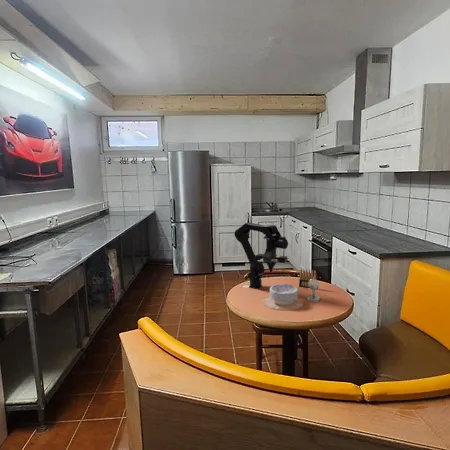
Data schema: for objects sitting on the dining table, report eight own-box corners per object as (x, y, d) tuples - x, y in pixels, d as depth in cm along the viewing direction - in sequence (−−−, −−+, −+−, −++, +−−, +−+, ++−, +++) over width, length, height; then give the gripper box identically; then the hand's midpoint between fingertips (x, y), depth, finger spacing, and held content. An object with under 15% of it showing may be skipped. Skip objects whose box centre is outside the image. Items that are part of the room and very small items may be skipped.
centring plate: (256, 305, 178) (256, 305, 178) (270, 293, 197) (271, 292, 197) (296, 313, 168) (296, 312, 168) (307, 299, 187) (307, 298, 187)
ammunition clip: (298, 287, 208) (299, 268, 206) (299, 286, 209) (300, 267, 208) (315, 289, 202) (316, 270, 201) (316, 288, 204) (317, 269, 202)
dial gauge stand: (306, 300, 185) (307, 279, 183) (309, 296, 190) (310, 276, 189) (317, 301, 182) (318, 280, 181) (320, 298, 188) (320, 277, 186)
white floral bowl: (276, 308, 173) (276, 294, 172) (265, 298, 188) (265, 285, 187) (302, 305, 177) (303, 291, 176) (290, 296, 192) (290, 282, 190)
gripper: (251, 247, 194) (251, 273, 196) (281, 250, 185) (281, 277, 187) (258, 244, 204) (258, 269, 206) (288, 246, 195) (287, 272, 197)
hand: (271, 272), depth 199 cm, fingers closed
